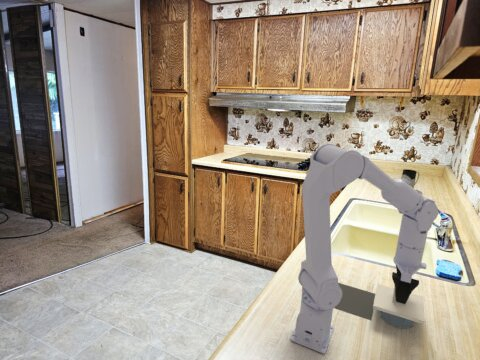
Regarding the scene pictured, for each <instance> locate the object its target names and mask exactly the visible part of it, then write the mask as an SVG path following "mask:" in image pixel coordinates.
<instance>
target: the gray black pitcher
mask: <svg viewBox="0 0 480 360" xmlns="http://www.w3.org/2000/svg"><path fill="white" fill-rule="evenodd" d="M400 177H401V178H400V179H402V178H403V179H406V180H408V181H409V182H410V184H408V185H410V186H411V187H412V188H414V189H415V186H416V184H417V183H418V181H419V179H420V172H419V171H417V170H415V169H409V168H408V169H407V168H405V169H403V170H402V174H401V176H400ZM416 177H417V179H416Z"/></svg>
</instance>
